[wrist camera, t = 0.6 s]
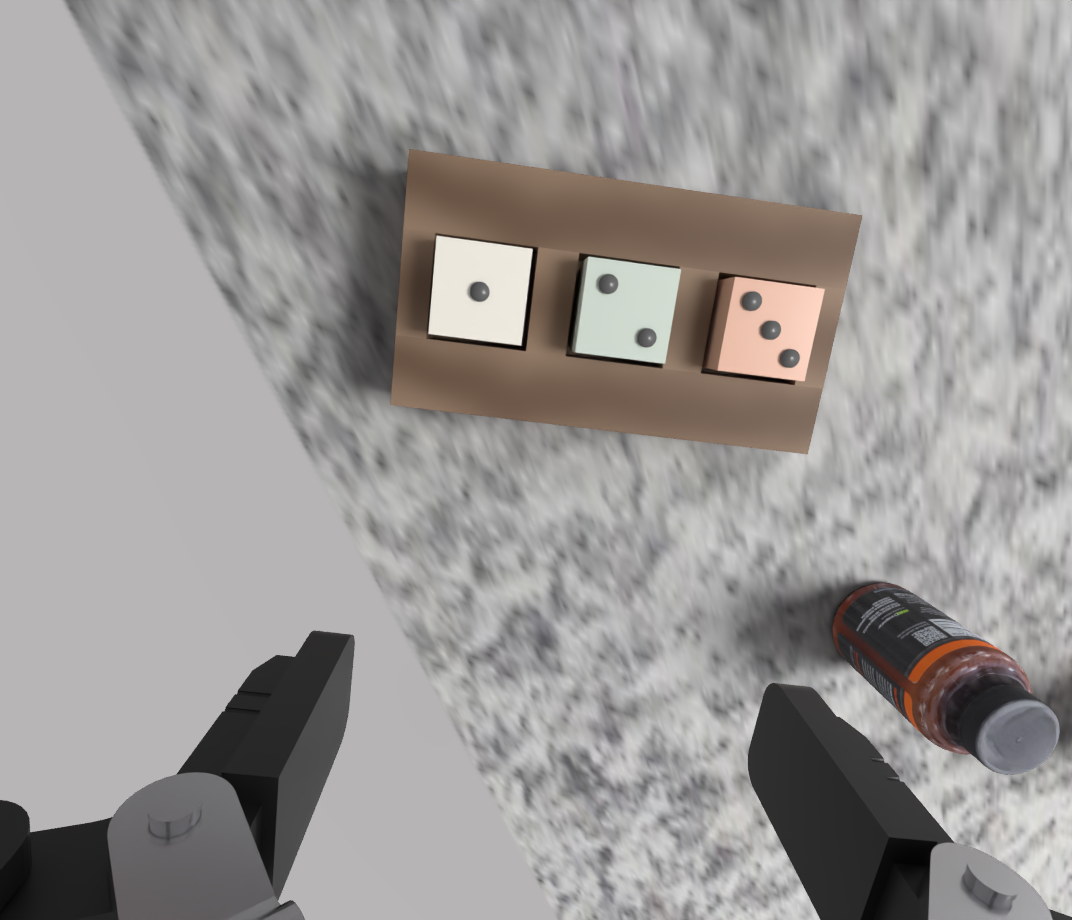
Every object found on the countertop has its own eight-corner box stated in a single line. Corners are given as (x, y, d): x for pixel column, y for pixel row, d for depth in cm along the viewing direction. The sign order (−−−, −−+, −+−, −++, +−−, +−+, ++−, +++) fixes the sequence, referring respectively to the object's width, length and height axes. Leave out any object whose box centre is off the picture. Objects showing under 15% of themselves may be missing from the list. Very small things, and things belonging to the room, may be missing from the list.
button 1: (443, 244, 30) (436, 235, 27) (530, 256, 30) (532, 248, 27) (436, 333, 31) (428, 333, 28) (520, 343, 31) (521, 345, 28)
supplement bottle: (876, 678, 39) (1019, 816, 28) (808, 634, 38) (928, 758, 27) (937, 609, 38) (1108, 723, 27) (869, 562, 37) (1018, 660, 26)
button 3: (714, 281, 31) (736, 276, 28) (795, 292, 31) (826, 289, 28) (698, 366, 32) (718, 370, 29) (777, 376, 32) (805, 381, 29)
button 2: (580, 263, 30) (588, 256, 27) (665, 274, 31) (682, 269, 28) (569, 349, 31) (575, 352, 28) (650, 360, 32) (665, 364, 28)
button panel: (421, 171, 31) (408, 148, 27) (820, 228, 33) (862, 215, 29) (404, 395, 34) (390, 404, 30) (775, 440, 35) (807, 454, 32)
